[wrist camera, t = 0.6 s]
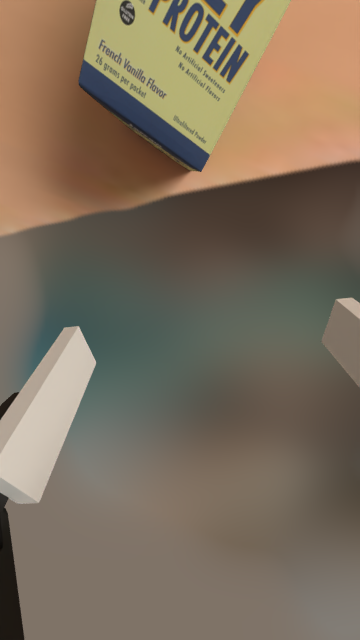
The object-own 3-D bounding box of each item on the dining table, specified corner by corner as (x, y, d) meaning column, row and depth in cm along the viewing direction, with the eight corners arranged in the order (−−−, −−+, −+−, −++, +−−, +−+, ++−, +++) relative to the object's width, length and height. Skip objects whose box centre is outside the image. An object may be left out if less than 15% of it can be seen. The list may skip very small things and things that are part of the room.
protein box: (121, 125, 28) (74, 86, 15) (182, -69, 20) (192, -491, 7) (191, 174, 31) (202, 176, 18) (267, 21, 23) (379, -165, 10)
